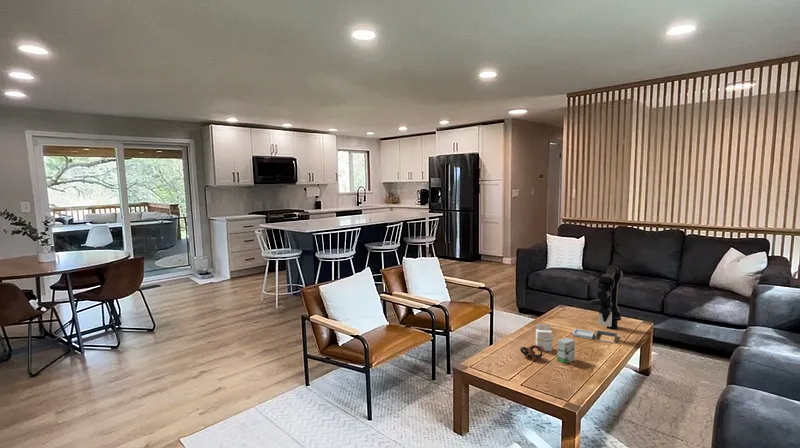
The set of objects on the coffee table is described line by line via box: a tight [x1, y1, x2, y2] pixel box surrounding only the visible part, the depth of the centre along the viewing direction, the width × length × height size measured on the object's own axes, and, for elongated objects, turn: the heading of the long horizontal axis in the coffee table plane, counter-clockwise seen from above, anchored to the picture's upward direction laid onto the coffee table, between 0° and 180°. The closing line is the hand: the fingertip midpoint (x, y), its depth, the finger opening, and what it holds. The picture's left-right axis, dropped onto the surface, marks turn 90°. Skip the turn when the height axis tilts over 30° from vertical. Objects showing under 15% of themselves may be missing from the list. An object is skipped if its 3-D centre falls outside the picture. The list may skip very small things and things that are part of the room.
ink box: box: [556, 337, 576, 364], centre depth 225 cm, size 9×5×12 cm, turn 117°
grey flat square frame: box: [594, 329, 618, 344], centre depth 255 cm, size 12×12×2 cm
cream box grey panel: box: [597, 312, 612, 327], centre depth 252 cm, size 5×7×9 cm
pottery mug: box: [520, 344, 543, 362], centre depth 229 cm, size 12×10×8 cm
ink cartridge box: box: [534, 323, 553, 352], centre depth 240 cm, size 9×5×15 cm, turn 84°
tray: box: [571, 328, 595, 340], centre depth 260 cm, size 10×12×2 cm
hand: (605, 320), depth 253 cm, fingers closed on cream box grey panel, 5 cm apart
